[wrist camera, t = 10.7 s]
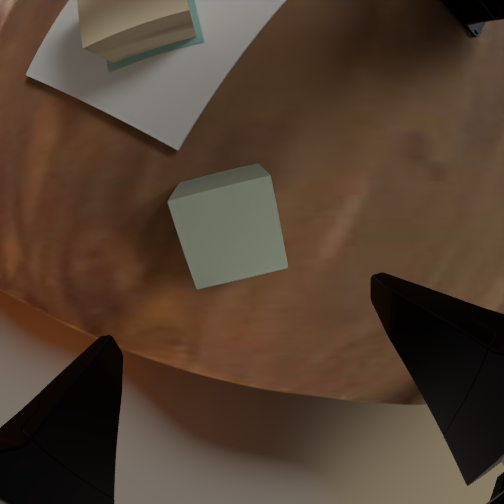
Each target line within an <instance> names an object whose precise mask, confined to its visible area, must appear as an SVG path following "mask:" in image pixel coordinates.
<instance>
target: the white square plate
mask: <svg viewBox="0 0 504 504" xmlns="http://www.w3.org/2000/svg"><path fill="white" fill-rule="evenodd" d="M286 1H287V0H188V3H189V7H190V11H191V15H192V20H193V24H194V28H195V32H196V37H195V38H191V39H187V40H183V41H179V42H176V43H172V44H169V45H166V46H162V47H159V48H156V49H153V50H150V51H147V52H144V53H141V54H138V55H135V56H133V57H130V58H127V59H125V60H122V61H120V62H117V63H115V64H114V63H112V62H110V61H108V60H106V59H104V58H102V57H100V56H98V55H96V54H94V53H92V52H90V51H87V50H85V49H83V46H82V39H81V32H80V24H79V15H78V6H77V0H69V1H68V3H67V4H66V6H65V7H64V8H63V10H62V11H61V13H60V14H59V16H58V18H57V19H56V21H55V22H54V24H53V25H52V27H51V29H50V30H49V32H48V34H47V35H46V37H45V39H44V41H43V42H42V44H41V46H40V48H39V50H38V51H37V53H36V55H35V57H34V59H33V61H32V63H31V65H30V67H29V69H28V71H27V73H26V76H29V77H31V78H33V79H36V80H38V81H40V82H42V83H45V84H47V85H49V86H51V87H53V88H56V89H58V90H60V91H62V92H64V93H66V94H69V95H71V96H73V97H75V98H77V99H79V100H81V101H83V102H85V103H87V104H89V105H91V106H93V107H96V108H98V109H100V110H102V111H104V112H106V113H108V114H110V115H112V116H114V117H116V118H117V119H119V120H121V121H123V122H125V123H127V124H129V125H131V126H133V127H135V128H137V129H139V130H141V131H143V132H144V133H146V134H148V135H150V136H152V137H154V138H156V139H158V140H159V141H161V142H163V143H165V144H167V145H169V146H170V147H172V148H174V149H176V150H180V148H181V146H182V145H183V143H184V141H185V140H186V138H187V136H188V135H189V133H190V131H191V130H192V128H193V126H194V125H195V123H196V122H197V120H198V119H199V117H200V115H201V114H202V112H203V111H204V109H205V108H206V106H207V105H208V103H209V102H210V100H211V99H212V97H213V96H214V94H215V93H216V91H217V90H218V88H219V87H220V85H221V84H222V82H223V81H224V80H225V78H226V77H227V75H228V74H229V72H230V71H231V70H232V68H233V67H234V66H235V64H236V63H237V61H238V60H239V59H240V57H241V56H242V55H243V53H244V52H245V51H246V49H247V48H248V47H249V46H250V44H251V43H252V42H253V40H254V39H255V38H256V37H257V35H258V34H259V33H260V32H261V30H262V29H263V28H264V27H265V25H266V24H267V23H268V22H269V21H270V19H271V18H272V17H273V16H274V15H275V13H276V12H277V11H278V10H279V9H280V8H281V6H282V5H283V4H284V3H285V2H286Z"/></svg>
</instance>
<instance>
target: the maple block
mask: <svg viewBox="0 0 504 504" xmlns="http://www.w3.org/2000/svg"><path fill="white" fill-rule="evenodd" d="M77 6H78V15H79V24H80V32H81V39H82V46H83V49H85V50H87V51H90V52H92V53H94V54H96V55H98V56H100V57H102V58H104V59H106V60H108V61H110V62H112V63H114V64H115V63H117V62H120V61H122V60H125V59H127V58H130V57H133V56H135V55H138V54H141V53H144V52H147V51H150V50H153V49H156V48H159V47H162V46H166V45H169V44H172V43H176V42H179V41H183V40H187V39H191V38H195V37H196V32H195V28H194V24H193V20H192V15H191V11H190V7H189V3H188V0H77Z"/></svg>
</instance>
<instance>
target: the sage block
mask: <svg viewBox="0 0 504 504" xmlns="http://www.w3.org/2000/svg"><path fill="white" fill-rule="evenodd" d="M167 202H168V205H169V208H170V212H171V215H172V218H173V221H174V224H175V227H176V230H177V234H178V237H179V240H180V243H181V246H182V249H183V252H184V255H185V258H186V260H187V263H188V266H189V269H190V272H191V275H192V278H193V281H194V283H195V286H196V289H201V288H206V287H210V286H214V285H219V284H223V283H227V282H232V281H236V280H240V279H244V278H248V277H253V276H257V275H261V274H265V273H269V272H273V271H277V270H281V269H286V268H288V264H287V259H286V253H285V247H284V242H283V237H282V231H281V226H280V221H279V215H278V210H277V205H276V200H275V195H274V190H273V185H272V180H271V175H270V174H269V173H268V172H267V171H266V170H265V169H264V168H263V167H262V166H261V165H260V164H259V163H256V164H252V165H247V166H243V167H239V168H235V169H230V170H226V171H222V172H218V173H214V174H210V175H206V176H202V177H199V178H195V179H191V180H187V181H184V182H180V183H179V184H178V185H177V187H176V188H175V190H174V192H173V193H172V195H171V196H170V198H169V200H168V201H167Z"/></svg>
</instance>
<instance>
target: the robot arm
mask: <svg viewBox="0 0 504 504" xmlns="http://www.w3.org/2000/svg"><path fill="white" fill-rule="evenodd" d="M442 1H443V2H444V3H445V4H446V5H447V6H448V7H449V9H450V10H451V11H452V12H453V13H454V14H455V15H456V16H457V18H458V19H459V20H460V21H461V22H462V24H463V25H464V26H465V27H466V28H467V30H468V31H469V32H470V33H471V35H472V36H473V37H479V35H480V33H481V31H482V28H483V26H484V24H485V22H487V21H494V20H501V19H504V0H442ZM371 301H372V304H373V306H374V308H375V310H376V312H377V314H378V316H379V318H380V320H381V323H382V325H383V327H384V329H385V331H386V333H387V335H388V337H389V339H390V341H391V342H392V344H393V346H394V347H395V349H396V351H397V352H398V354H399V356H400V358H401V359H402V361H403V363H404V364H405V366H406V368H407V369H408V371H409V373H410V375H411V376H412V378H413V380H414V382H415V383H416V385H417V387H418V389H419V391H420V392H421V394H422V396H423V398H424V400H425V401H426V403H427V405H428V407H429V409H430V411H431V412H432V414H433V416H434V418H435V420H436V422H437V424H438V426H439V428H440V430H441V432H442V434H443V435H444V438H445V440H446V442H447V444H448V446H449V448H450V450H451V452H452V454H453V456H454V459H455V461H456V463H457V465H458V467H459V469H460V472H461V474H462V476H463V478H464V480H465V483H466V484H467V486H468V485H470V484H471V483H473V482H474V481H476V480H477V479H479V478H480V477H481V476H483V475H484V474H486V473H487V472H489V471H490V470H491V469H492V468H494V467H495V466H497V465H498V464H499V463H500V462H502V463H503V465H504V314H502V313H498V312H495V311H492V310H488V309H485V308H482V307H479V306H477V305H474V304H471V303H468V302H465V301H463V300H460V299H457V298H454V297H452V296H449V295H446V294H443V293H440V292H438V291H435V290H432V289H429V288H426V287H423V286H421V285H418V284H415V283H412V282H409V281H406V280H403V279H400V278H398V277H395V276H392V275H389V274H386V273H378V274H375V275H372V277H371ZM122 373H123V354H122V352H121V350H120V348H119V347H118V345H117V343H116V342H115V340H114V338H113V337H112V336H110V335H107V336H101V337H99V338H98V339H97V340H96V341H95V342H94V343H93V344H92V345H90V346H89V347H88V348H87V349H86V350H85V351H84V352H83V353H82V354H81V355H79V357H77V358H76V359H75V360H74V361H73V362H72V363H71V364H70V365H69V366H68V367H66V369H64V370H63V371H62V372H61V373H60V374H59V375H58V376H57V377H56V378H55V379H54V380H53V381H52V382H51V383H50V384H48V385H47V386H46V387H45V388H44V389H43V390H42V391H41V392H40V394H38V395H37V396H36V397H35V398H34V399H33V400H31V401H30V402H29V403H28V404H27V405H26V406H25V407H24V408H23V409H22V410H21V411H19V412H18V413H17V414H16V415H15V416H14V417H12V418H11V419H10V420H9V421H8V422H7V423H6V424H4V425H3V426H2V427H1V428H0V504H114V483H115V460H116V445H117V434H118V424H119V414H120V405H121V396H122ZM487 504H504V472H503V473H502V474H501V475H500V476H499V477H497V480H496V484H495V487H494V490H493V493H492V496H491V499H490V501H489V502H488V503H487Z"/></svg>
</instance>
